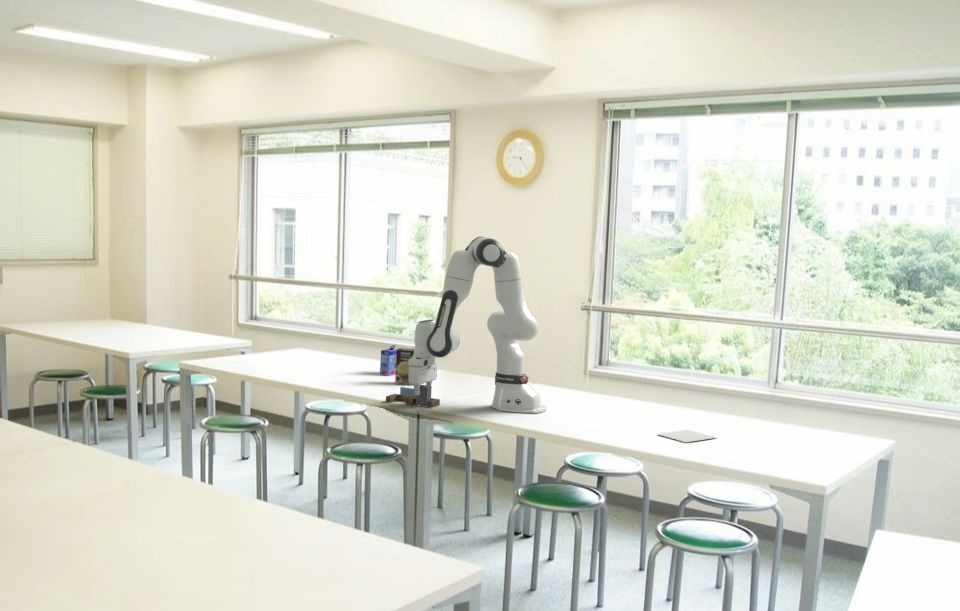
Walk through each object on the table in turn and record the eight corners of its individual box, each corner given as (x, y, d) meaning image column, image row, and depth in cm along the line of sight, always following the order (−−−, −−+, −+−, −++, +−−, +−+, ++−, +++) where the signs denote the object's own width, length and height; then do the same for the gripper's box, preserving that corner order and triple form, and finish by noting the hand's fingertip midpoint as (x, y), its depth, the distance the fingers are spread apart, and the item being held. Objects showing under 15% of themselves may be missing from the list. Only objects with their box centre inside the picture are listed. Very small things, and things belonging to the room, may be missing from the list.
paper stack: (738, 445, 304) (738, 443, 304) (690, 453, 289) (691, 450, 289) (687, 431, 323) (687, 429, 323) (640, 438, 308) (640, 436, 308)
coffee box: (394, 384, 396) (395, 349, 395) (397, 382, 402) (398, 348, 401) (414, 385, 395) (415, 350, 394) (416, 383, 401) (417, 349, 400)
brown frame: (443, 403, 355) (443, 391, 354) (432, 408, 345) (432, 395, 345) (397, 398, 362) (398, 386, 362) (385, 402, 353) (386, 390, 352)
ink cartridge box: (388, 376, 418) (389, 346, 417) (379, 374, 421) (380, 345, 420) (399, 373, 427) (400, 344, 426) (390, 372, 430) (391, 343, 429)
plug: (430, 405, 351) (431, 385, 350) (426, 407, 347) (427, 387, 346) (419, 404, 353) (420, 384, 352) (415, 405, 349) (416, 386, 348)
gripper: (427, 356, 359) (426, 389, 359) (406, 361, 339) (404, 396, 340) (441, 357, 356) (439, 390, 357) (420, 363, 337) (419, 398, 338)
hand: (422, 393), depth 349 cm, fingers open, 8 cm apart
